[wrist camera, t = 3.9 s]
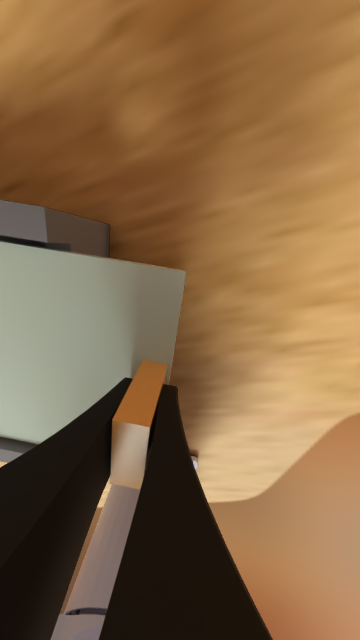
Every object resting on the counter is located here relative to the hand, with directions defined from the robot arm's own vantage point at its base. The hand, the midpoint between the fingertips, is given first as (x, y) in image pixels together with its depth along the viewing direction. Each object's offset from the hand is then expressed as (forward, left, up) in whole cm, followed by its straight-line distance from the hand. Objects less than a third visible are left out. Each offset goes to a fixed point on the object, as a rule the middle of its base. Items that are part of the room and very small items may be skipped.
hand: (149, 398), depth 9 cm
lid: (0, +8, -1) cm, 8 cm away
